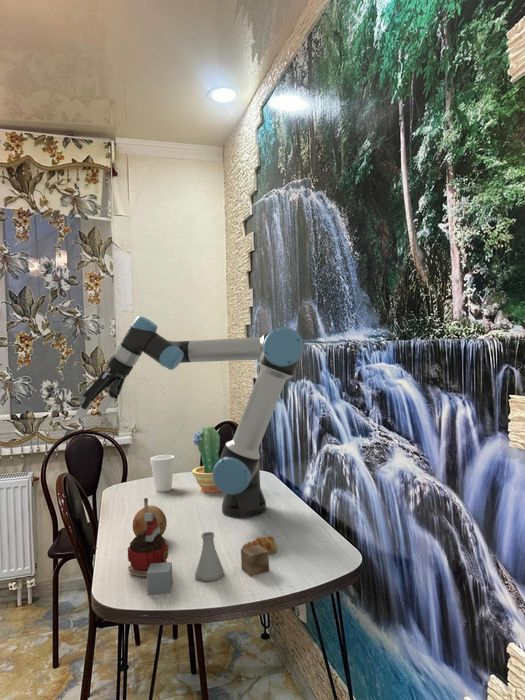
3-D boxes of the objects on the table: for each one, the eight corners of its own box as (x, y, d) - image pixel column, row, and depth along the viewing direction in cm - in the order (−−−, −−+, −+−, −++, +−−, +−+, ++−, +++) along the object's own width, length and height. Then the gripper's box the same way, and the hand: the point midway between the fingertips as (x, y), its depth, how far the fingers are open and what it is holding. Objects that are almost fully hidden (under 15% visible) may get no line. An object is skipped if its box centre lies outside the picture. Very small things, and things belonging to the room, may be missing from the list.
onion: (155, 549, 133) (154, 513, 133) (125, 545, 137) (124, 510, 137) (173, 536, 142) (172, 502, 142) (145, 533, 146) (144, 500, 146)
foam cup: (172, 492, 189) (171, 459, 189) (149, 493, 189) (148, 460, 190) (177, 485, 199) (176, 454, 199) (155, 486, 199) (153, 455, 199)
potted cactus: (198, 484, 200) (196, 424, 201) (234, 484, 198) (232, 423, 198) (187, 494, 185) (185, 430, 185) (226, 494, 183) (224, 429, 183)
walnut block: (259, 564, 121) (258, 544, 121) (269, 571, 116) (268, 551, 117) (241, 569, 118) (240, 549, 118) (251, 577, 114) (250, 556, 114)
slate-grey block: (172, 583, 113) (171, 562, 113) (170, 593, 108) (169, 571, 108) (151, 585, 112) (150, 563, 112) (147, 595, 107) (146, 573, 107)
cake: (138, 560, 126) (135, 492, 126) (172, 561, 125) (170, 492, 125) (122, 580, 115) (119, 505, 115) (159, 580, 114) (157, 504, 114)
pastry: (245, 560, 124) (245, 546, 124) (238, 551, 130) (237, 537, 130) (279, 554, 127) (278, 540, 127) (270, 545, 133) (270, 531, 133)
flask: (219, 583, 111) (217, 540, 112) (190, 581, 113) (188, 539, 113) (228, 569, 119) (226, 529, 119) (200, 568, 120) (198, 528, 120)
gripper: (131, 354, 169) (100, 404, 170) (95, 353, 144) (59, 411, 146) (147, 365, 168) (116, 416, 169) (115, 367, 143) (78, 425, 145)
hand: (90, 414), depth 158 cm, fingers open, 13 cm apart
